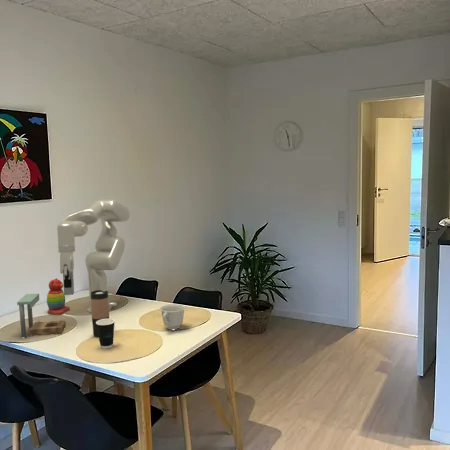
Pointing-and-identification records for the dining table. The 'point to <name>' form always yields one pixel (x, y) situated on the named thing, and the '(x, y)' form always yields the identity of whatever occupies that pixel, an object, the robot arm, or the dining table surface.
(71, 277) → the peg
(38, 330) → the socket block
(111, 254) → the robot arm
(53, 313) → the rainbow stacking rings
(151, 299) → the dining table surface
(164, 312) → the teacup
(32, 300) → the green topped stand
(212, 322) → the dining table surface
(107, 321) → the dixie cup
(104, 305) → the travel mug
